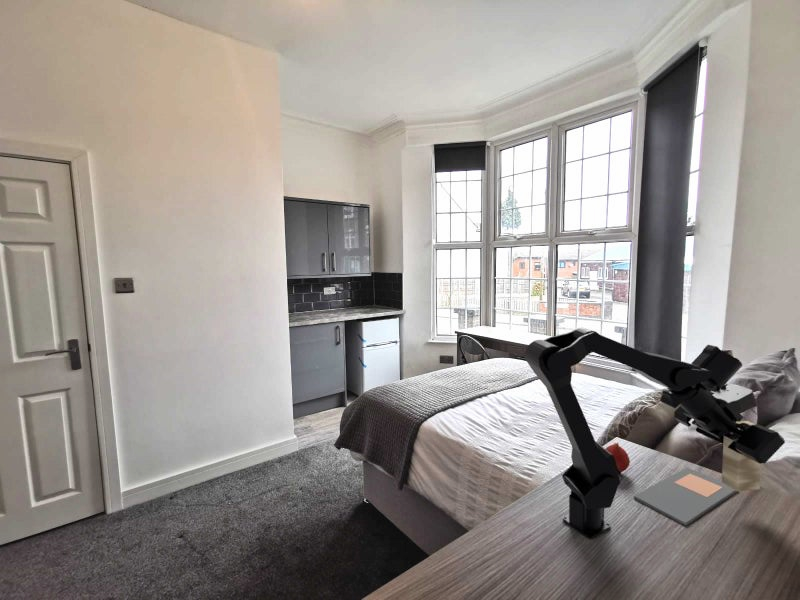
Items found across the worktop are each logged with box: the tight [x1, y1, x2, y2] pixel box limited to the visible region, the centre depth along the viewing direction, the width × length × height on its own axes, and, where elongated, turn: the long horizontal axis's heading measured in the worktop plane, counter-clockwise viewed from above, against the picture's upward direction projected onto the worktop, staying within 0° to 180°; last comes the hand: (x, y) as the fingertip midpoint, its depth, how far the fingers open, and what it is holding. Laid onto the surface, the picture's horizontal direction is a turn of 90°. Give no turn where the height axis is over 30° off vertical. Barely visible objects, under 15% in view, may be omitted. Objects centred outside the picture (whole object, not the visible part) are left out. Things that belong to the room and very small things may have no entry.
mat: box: [633, 467, 738, 526], centre depth 82 cm, size 22×10×1 cm, turn 117°
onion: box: [605, 442, 631, 473], centre depth 91 cm, size 6×6×8 cm
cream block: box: [721, 420, 762, 492], centre depth 76 cm, size 5×3×13 cm, turn 94°
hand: (748, 452), depth 76 cm, fingers closed on cream block, 3 cm apart
